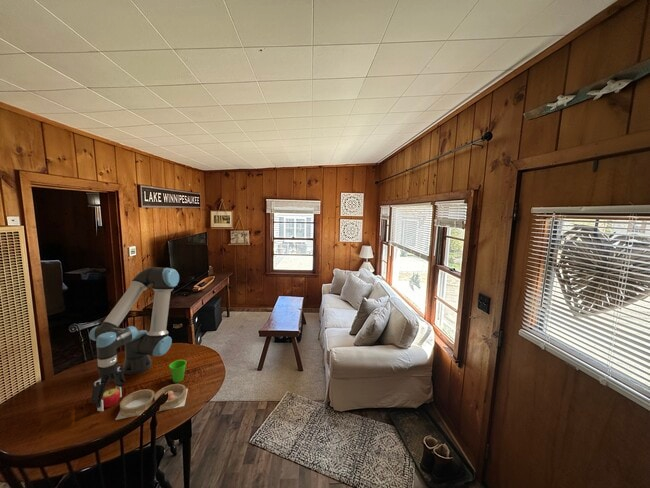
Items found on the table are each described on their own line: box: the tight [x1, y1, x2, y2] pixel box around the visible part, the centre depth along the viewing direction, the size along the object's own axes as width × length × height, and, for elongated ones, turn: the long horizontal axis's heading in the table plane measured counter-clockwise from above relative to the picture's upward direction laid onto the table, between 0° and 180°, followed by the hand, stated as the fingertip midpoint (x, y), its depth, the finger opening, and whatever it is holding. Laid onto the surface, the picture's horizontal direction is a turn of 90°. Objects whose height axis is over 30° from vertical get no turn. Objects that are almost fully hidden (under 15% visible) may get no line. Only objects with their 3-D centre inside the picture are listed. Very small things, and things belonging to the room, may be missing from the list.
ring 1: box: [119, 388, 156, 418], centre depth 130 cm, size 14×14×4 cm
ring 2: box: [154, 383, 187, 411], centre depth 135 cm, size 14×14×4 cm
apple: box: [102, 387, 120, 409], centre depth 131 cm, size 8×8×10 cm
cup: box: [168, 359, 188, 384], centre depth 152 cm, size 9×9×11 cm
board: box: [114, 388, 189, 421], centre depth 133 cm, size 29×14×1 cm, turn 111°
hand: (110, 405), depth 132 cm, fingers open, 9 cm apart
